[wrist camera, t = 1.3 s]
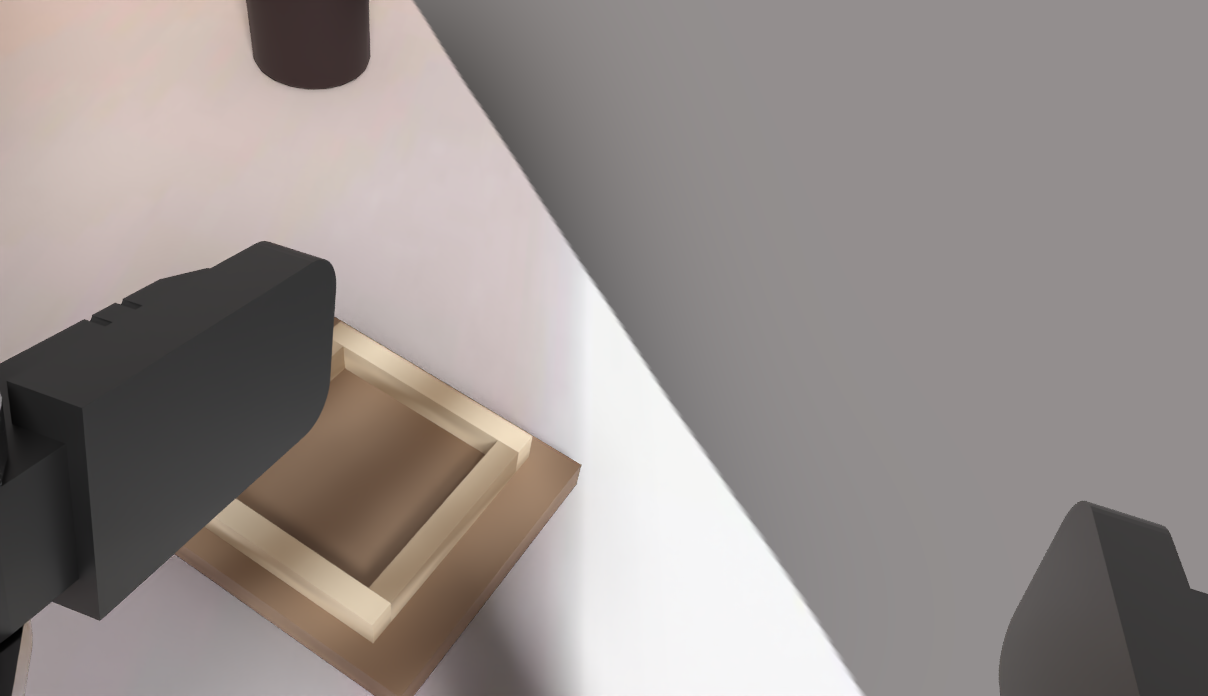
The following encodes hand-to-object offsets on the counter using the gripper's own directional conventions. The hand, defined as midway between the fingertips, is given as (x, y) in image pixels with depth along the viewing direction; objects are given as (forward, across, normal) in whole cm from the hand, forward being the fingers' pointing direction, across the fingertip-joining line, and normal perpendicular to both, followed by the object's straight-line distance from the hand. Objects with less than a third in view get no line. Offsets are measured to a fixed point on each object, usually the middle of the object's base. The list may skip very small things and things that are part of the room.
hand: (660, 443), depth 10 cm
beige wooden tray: (+21, +14, +21) cm, 32 cm away
